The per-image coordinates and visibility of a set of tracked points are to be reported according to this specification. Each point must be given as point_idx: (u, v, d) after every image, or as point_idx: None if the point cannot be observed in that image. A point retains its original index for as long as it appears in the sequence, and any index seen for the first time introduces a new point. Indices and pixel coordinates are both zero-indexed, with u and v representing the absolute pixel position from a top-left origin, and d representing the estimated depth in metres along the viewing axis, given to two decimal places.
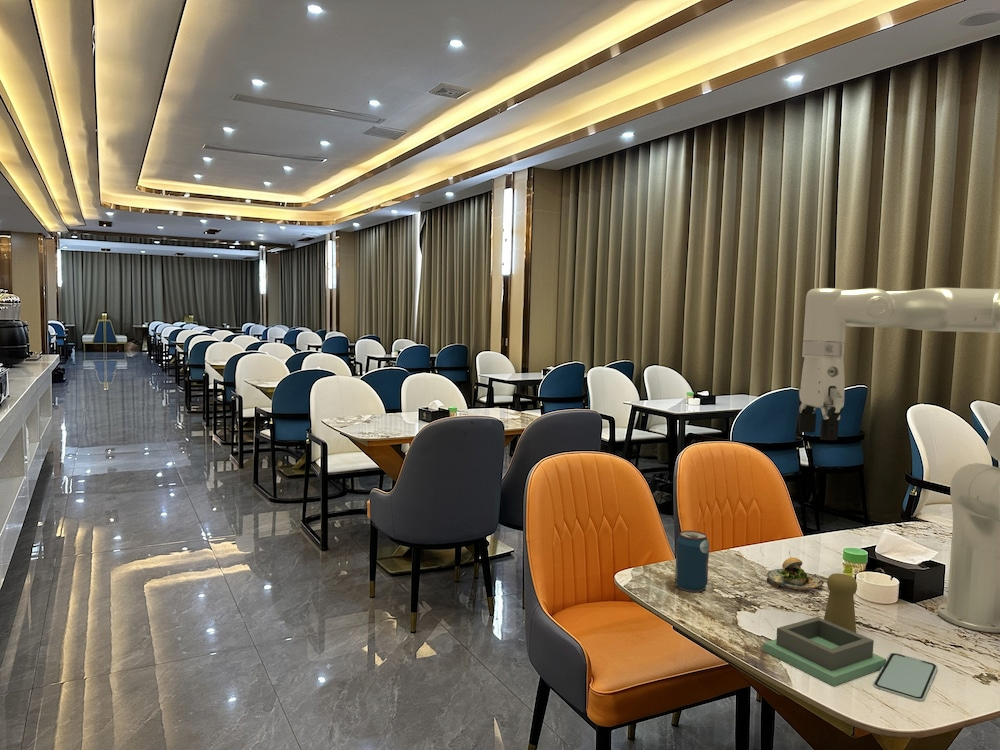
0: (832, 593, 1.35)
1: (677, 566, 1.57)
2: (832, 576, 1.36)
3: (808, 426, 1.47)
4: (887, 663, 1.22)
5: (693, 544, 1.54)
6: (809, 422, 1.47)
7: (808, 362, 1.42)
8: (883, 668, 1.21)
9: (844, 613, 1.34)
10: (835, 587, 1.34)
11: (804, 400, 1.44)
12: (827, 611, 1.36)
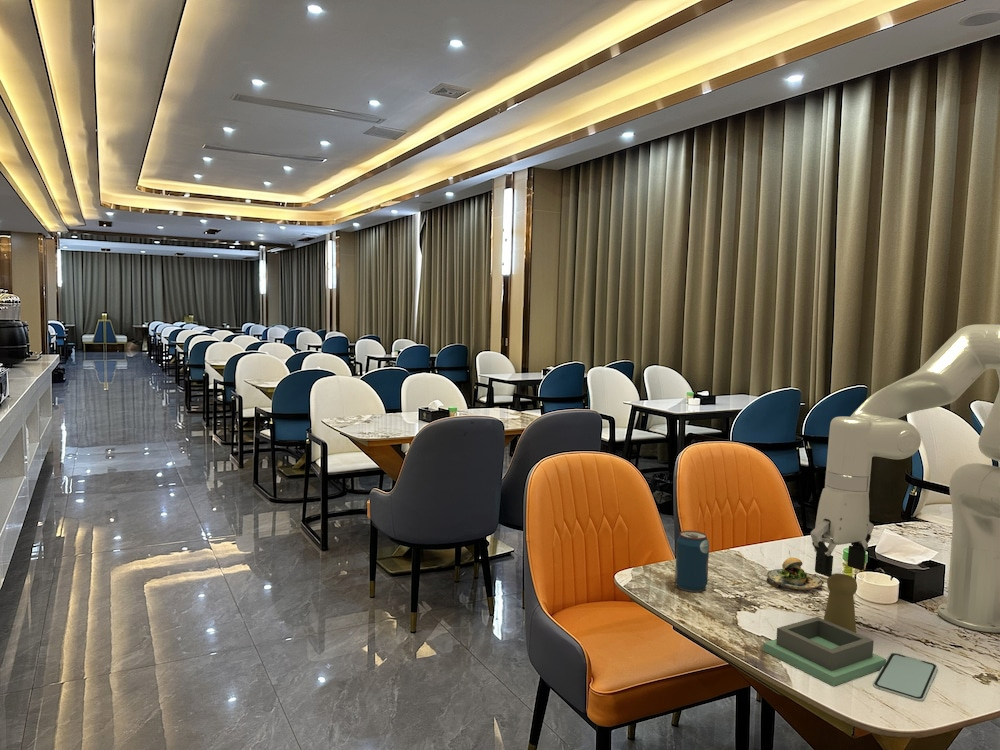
0: (832, 593, 1.35)
1: (677, 566, 1.57)
2: (832, 576, 1.36)
3: None
4: (887, 663, 1.22)
5: (693, 544, 1.54)
6: None
7: (855, 499, 1.32)
8: (883, 668, 1.21)
9: (844, 613, 1.34)
10: (835, 587, 1.34)
11: (845, 540, 1.32)
12: (827, 611, 1.36)
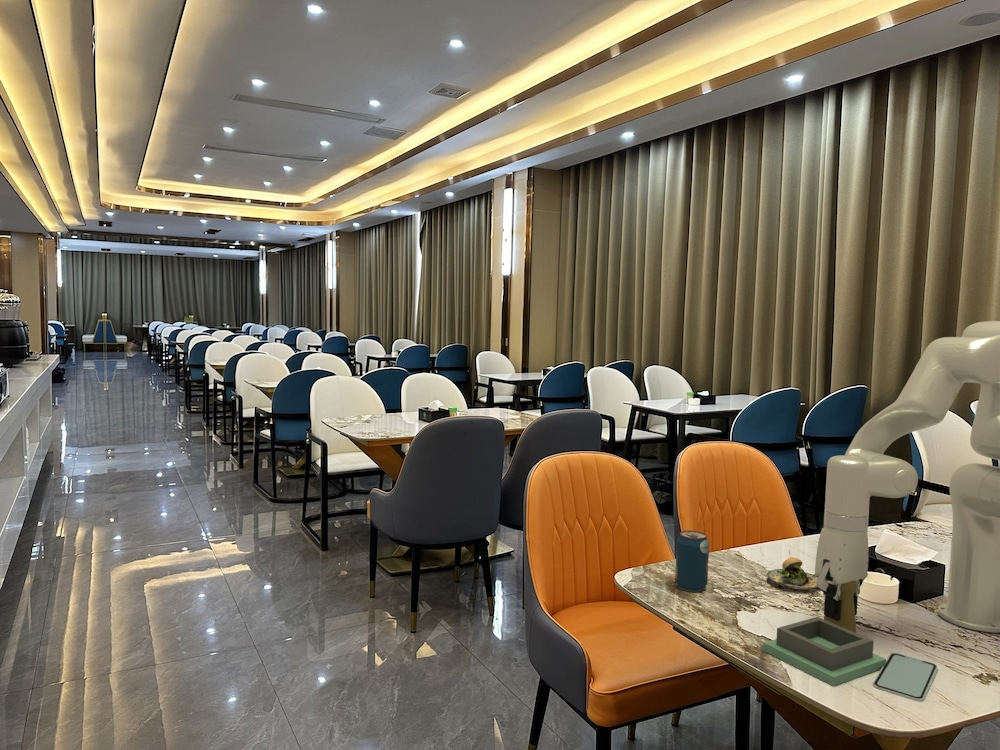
0: None
1: (677, 566, 1.57)
2: None
3: None
4: (887, 663, 1.22)
5: (693, 544, 1.54)
6: None
7: (854, 538, 1.32)
8: (883, 668, 1.21)
9: (844, 613, 1.34)
10: None
11: (845, 579, 1.33)
12: None
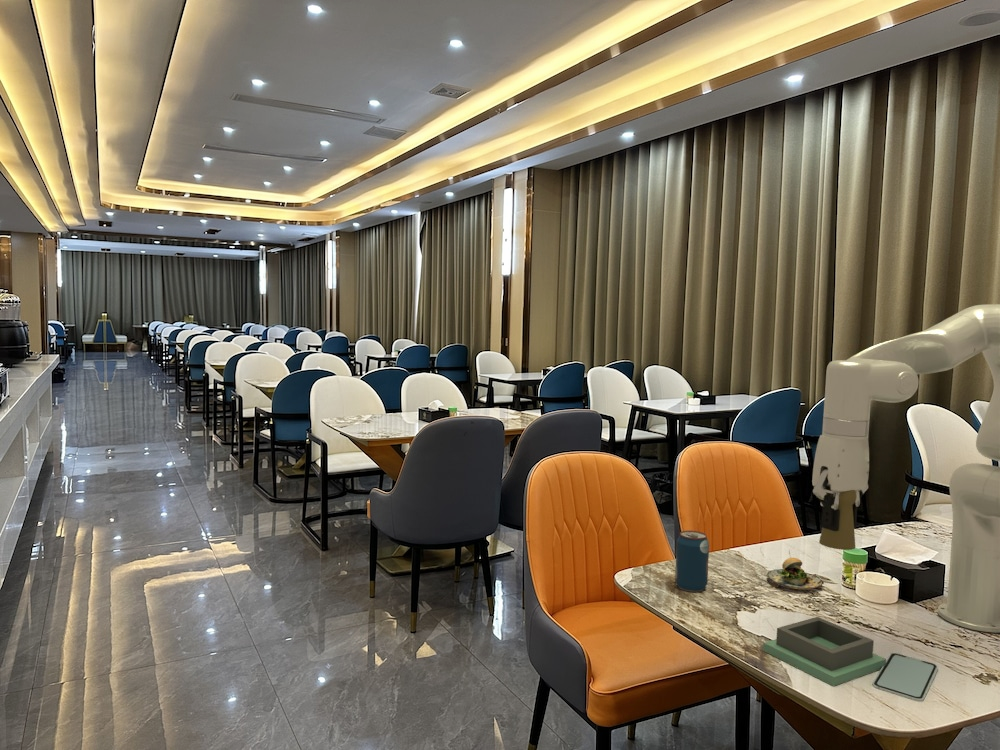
0: None
1: (677, 566, 1.57)
2: None
3: None
4: (887, 663, 1.22)
5: (693, 544, 1.54)
6: None
7: (854, 444, 1.26)
8: (883, 668, 1.21)
9: (842, 524, 1.28)
10: None
11: (843, 487, 1.27)
12: None
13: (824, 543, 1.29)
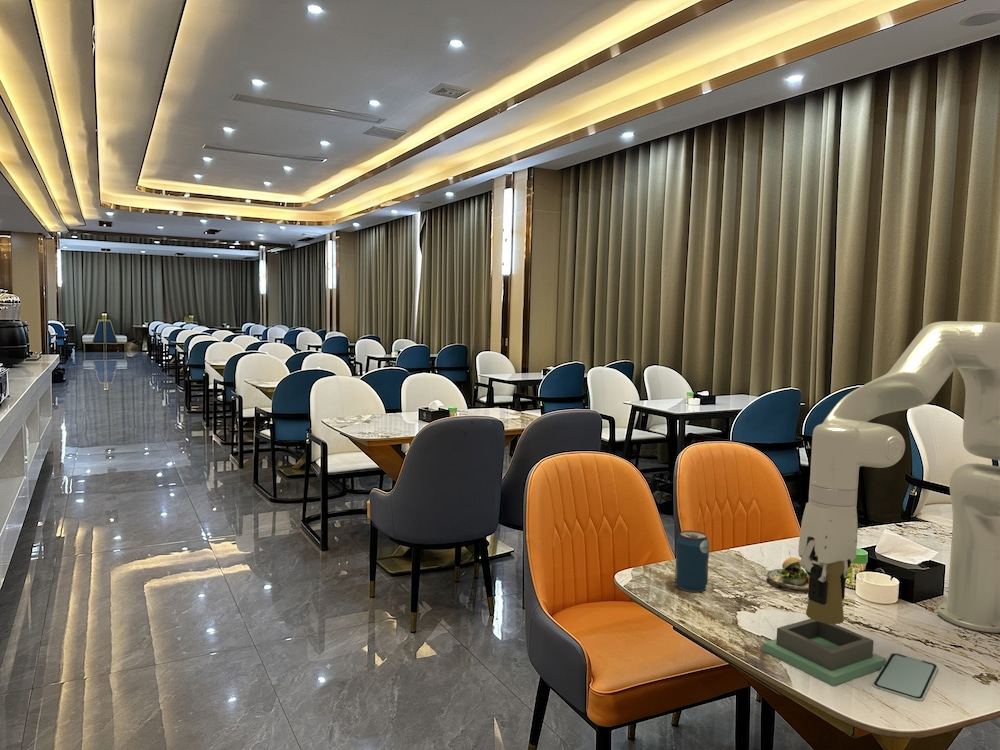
0: None
1: (677, 566, 1.57)
2: None
3: None
4: (887, 663, 1.22)
5: (693, 544, 1.54)
6: None
7: (842, 514, 1.20)
8: (883, 668, 1.21)
9: (829, 596, 1.21)
10: None
11: (831, 559, 1.20)
12: None
13: (811, 616, 1.23)
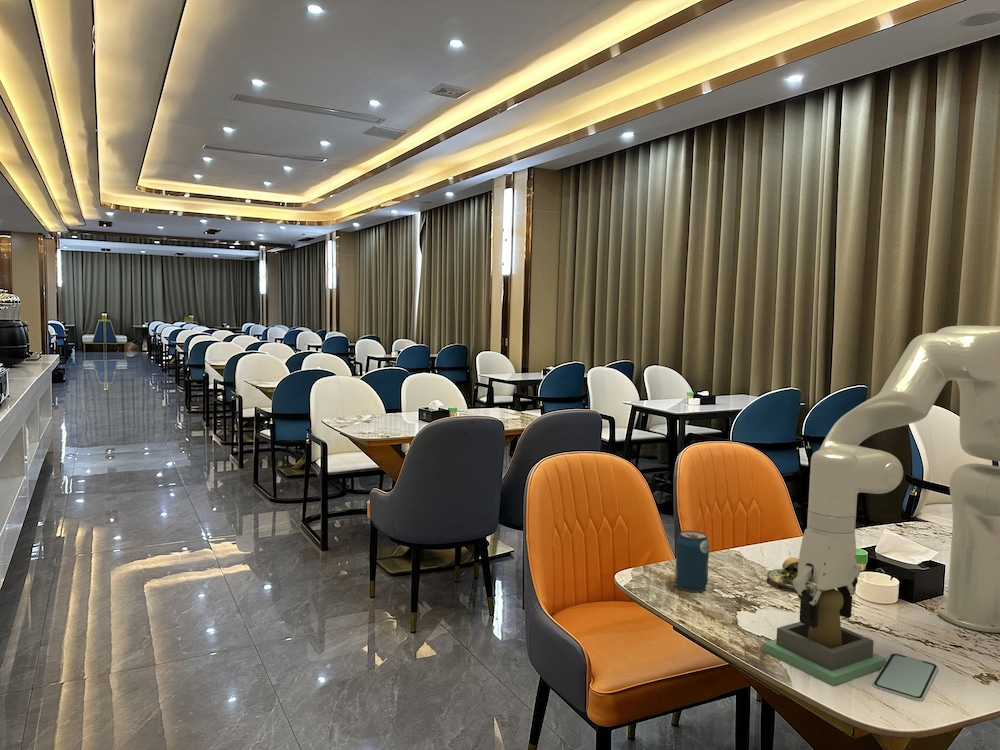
0: None
1: (677, 566, 1.57)
2: None
3: None
4: (887, 663, 1.22)
5: (693, 544, 1.54)
6: None
7: (840, 541, 1.21)
8: (883, 668, 1.21)
9: (828, 631, 1.22)
10: (819, 602, 1.22)
11: (830, 586, 1.21)
12: (810, 627, 1.24)
13: None
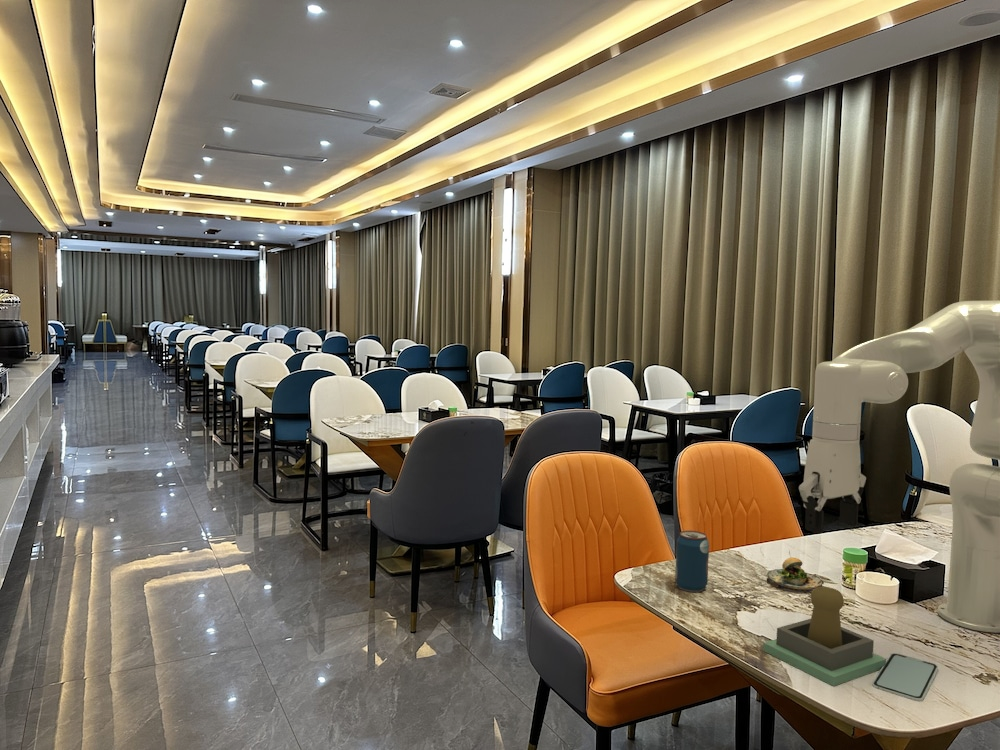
0: (816, 608, 1.24)
1: (677, 566, 1.57)
2: (816, 590, 1.24)
3: None
4: (887, 663, 1.22)
5: (693, 544, 1.54)
6: None
7: (845, 448, 1.22)
8: (883, 668, 1.21)
9: (828, 631, 1.22)
10: (819, 602, 1.22)
11: (836, 493, 1.23)
12: (810, 627, 1.24)
13: None
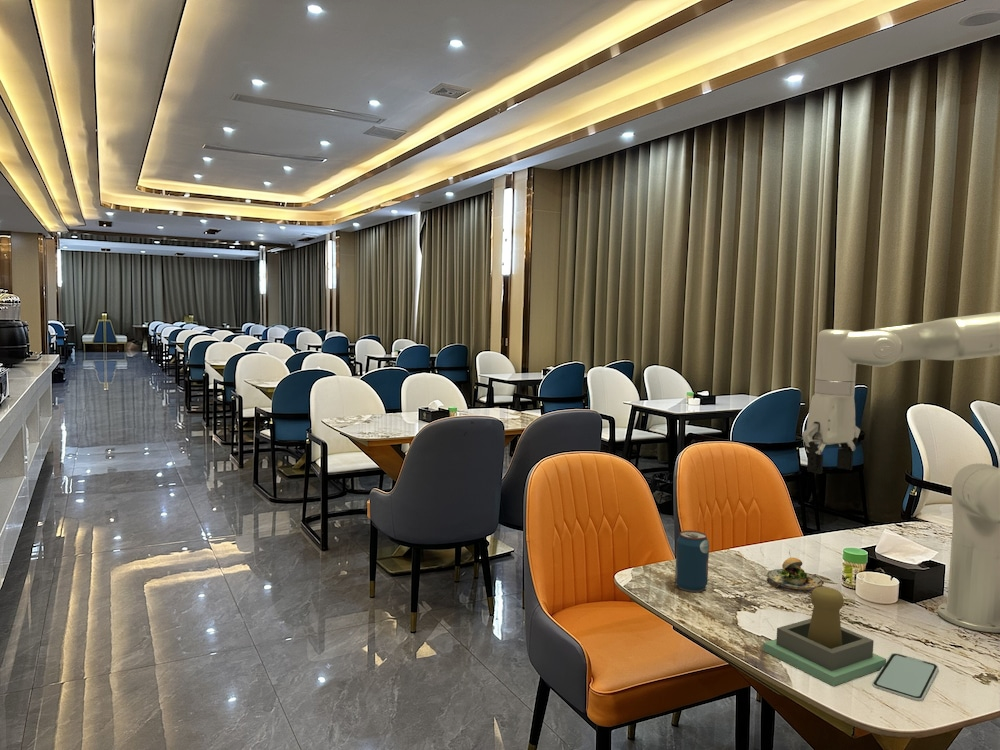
0: (816, 608, 1.24)
1: (677, 566, 1.57)
2: (816, 590, 1.24)
3: None
4: (887, 663, 1.23)
5: (693, 544, 1.54)
6: None
7: (842, 402, 1.45)
8: (883, 668, 1.21)
9: (828, 631, 1.22)
10: (819, 602, 1.22)
11: (833, 440, 1.45)
12: (810, 627, 1.24)
13: None
